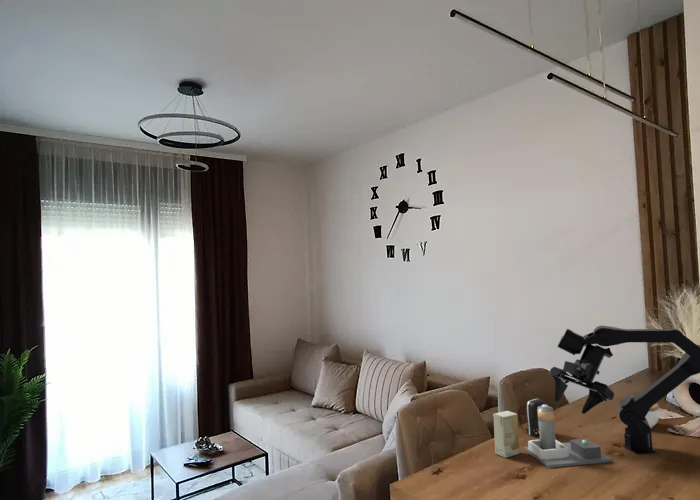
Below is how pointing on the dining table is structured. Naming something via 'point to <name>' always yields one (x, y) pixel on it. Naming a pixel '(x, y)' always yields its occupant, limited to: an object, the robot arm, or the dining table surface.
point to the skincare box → (506, 434)
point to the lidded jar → (653, 415)
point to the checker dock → (567, 453)
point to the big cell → (546, 427)
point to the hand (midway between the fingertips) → (568, 407)
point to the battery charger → (533, 416)
